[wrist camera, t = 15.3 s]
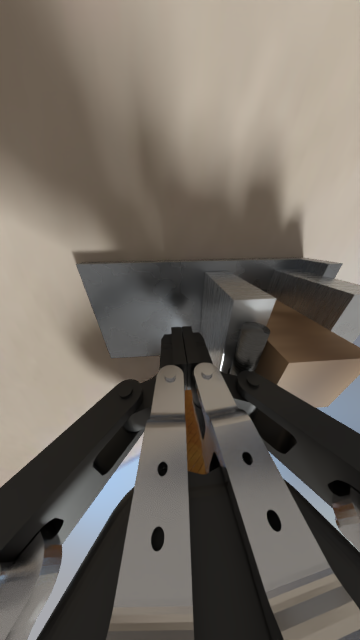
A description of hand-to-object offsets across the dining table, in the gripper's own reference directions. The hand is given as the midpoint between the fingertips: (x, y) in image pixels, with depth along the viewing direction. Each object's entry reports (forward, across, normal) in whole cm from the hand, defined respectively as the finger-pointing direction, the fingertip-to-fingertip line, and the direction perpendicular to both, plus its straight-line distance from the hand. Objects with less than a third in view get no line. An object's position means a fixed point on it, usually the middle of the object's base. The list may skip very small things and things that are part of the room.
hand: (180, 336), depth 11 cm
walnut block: (+3, -6, 0) cm, 7 cm away
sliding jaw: (+4, -3, 0) cm, 5 cm away
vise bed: (+4, -2, 0) cm, 4 cm away
